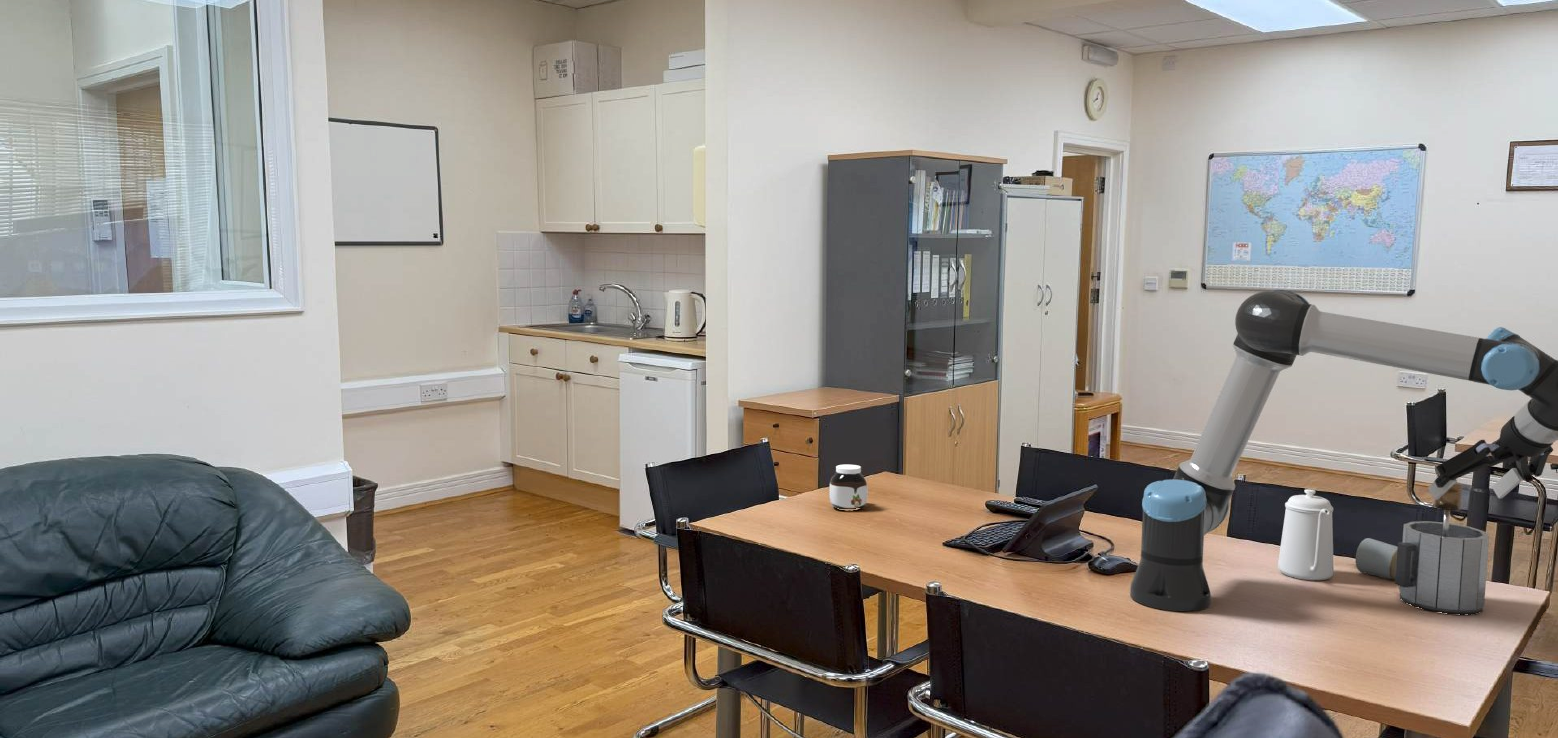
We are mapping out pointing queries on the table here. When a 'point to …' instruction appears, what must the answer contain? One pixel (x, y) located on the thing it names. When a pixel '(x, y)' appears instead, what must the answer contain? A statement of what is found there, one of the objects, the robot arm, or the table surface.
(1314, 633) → the table surface
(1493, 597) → the table surface
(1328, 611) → the table surface
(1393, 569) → the ceramic mug
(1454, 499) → the plunger
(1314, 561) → the coffeepot
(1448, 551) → the grey panelled tankard
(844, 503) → the spread jar
